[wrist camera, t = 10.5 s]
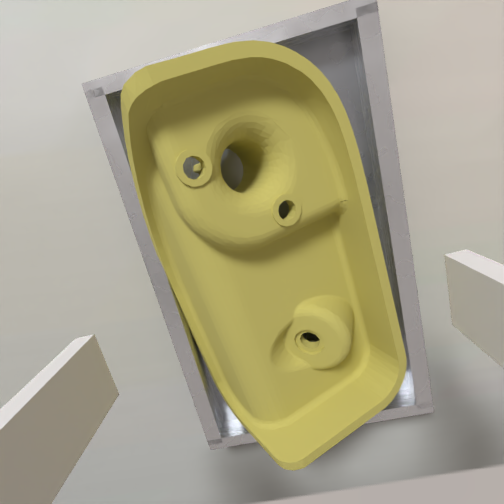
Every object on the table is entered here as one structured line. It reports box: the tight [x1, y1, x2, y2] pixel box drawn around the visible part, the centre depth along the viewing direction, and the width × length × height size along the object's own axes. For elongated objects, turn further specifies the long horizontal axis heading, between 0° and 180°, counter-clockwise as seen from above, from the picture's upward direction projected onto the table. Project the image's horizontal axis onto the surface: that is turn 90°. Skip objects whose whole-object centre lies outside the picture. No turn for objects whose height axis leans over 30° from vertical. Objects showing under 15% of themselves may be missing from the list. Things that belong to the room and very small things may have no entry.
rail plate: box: [82, 0, 434, 450], centre depth 20 cm, size 16×24×2 cm, turn 14°
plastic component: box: [121, 40, 407, 470], centre depth 19 cm, size 20×7×10 cm
